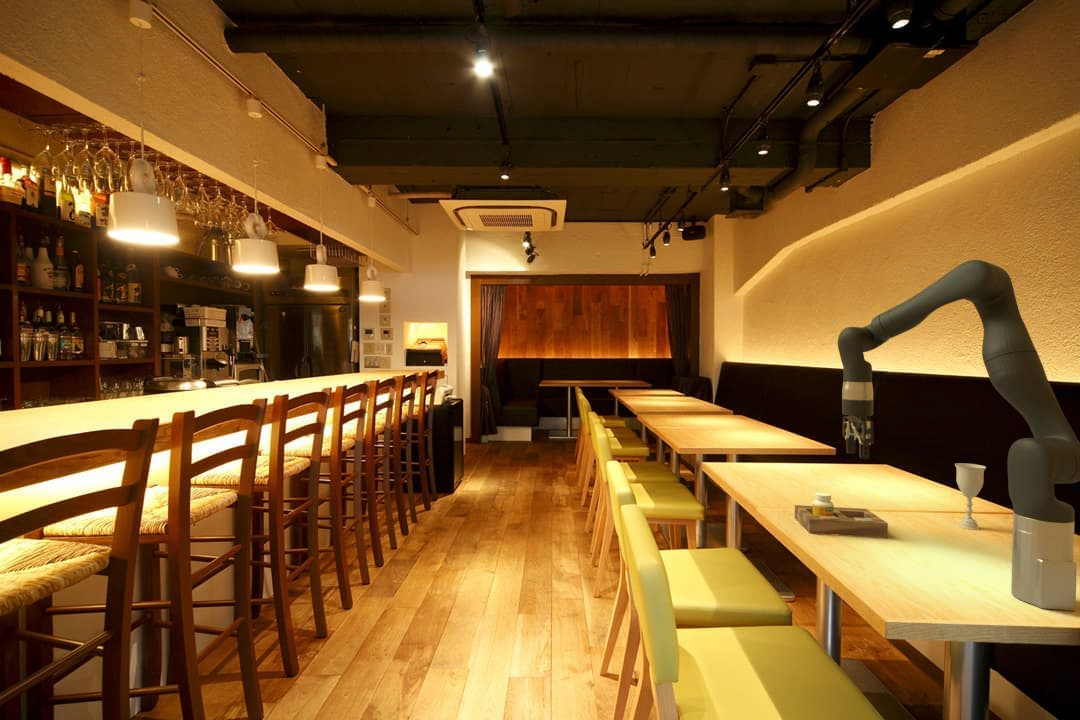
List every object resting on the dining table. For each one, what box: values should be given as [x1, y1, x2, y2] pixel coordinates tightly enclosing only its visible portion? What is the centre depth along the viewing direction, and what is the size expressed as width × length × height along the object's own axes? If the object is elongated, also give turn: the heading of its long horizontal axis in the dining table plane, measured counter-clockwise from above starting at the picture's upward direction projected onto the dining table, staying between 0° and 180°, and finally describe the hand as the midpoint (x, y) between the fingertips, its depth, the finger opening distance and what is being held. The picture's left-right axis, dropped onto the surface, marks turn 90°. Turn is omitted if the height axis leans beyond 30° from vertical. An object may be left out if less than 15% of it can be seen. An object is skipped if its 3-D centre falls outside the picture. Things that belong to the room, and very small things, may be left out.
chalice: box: [954, 462, 987, 531], centre depth 158 cm, size 7×7×18 cm
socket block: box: [794, 504, 889, 539], centre depth 157 cm, size 14×20×4 cm
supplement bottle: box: [812, 492, 834, 516], centre depth 157 cm, size 5×5×10 cm
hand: (857, 455), depth 152 cm, fingers open, 8 cm apart
